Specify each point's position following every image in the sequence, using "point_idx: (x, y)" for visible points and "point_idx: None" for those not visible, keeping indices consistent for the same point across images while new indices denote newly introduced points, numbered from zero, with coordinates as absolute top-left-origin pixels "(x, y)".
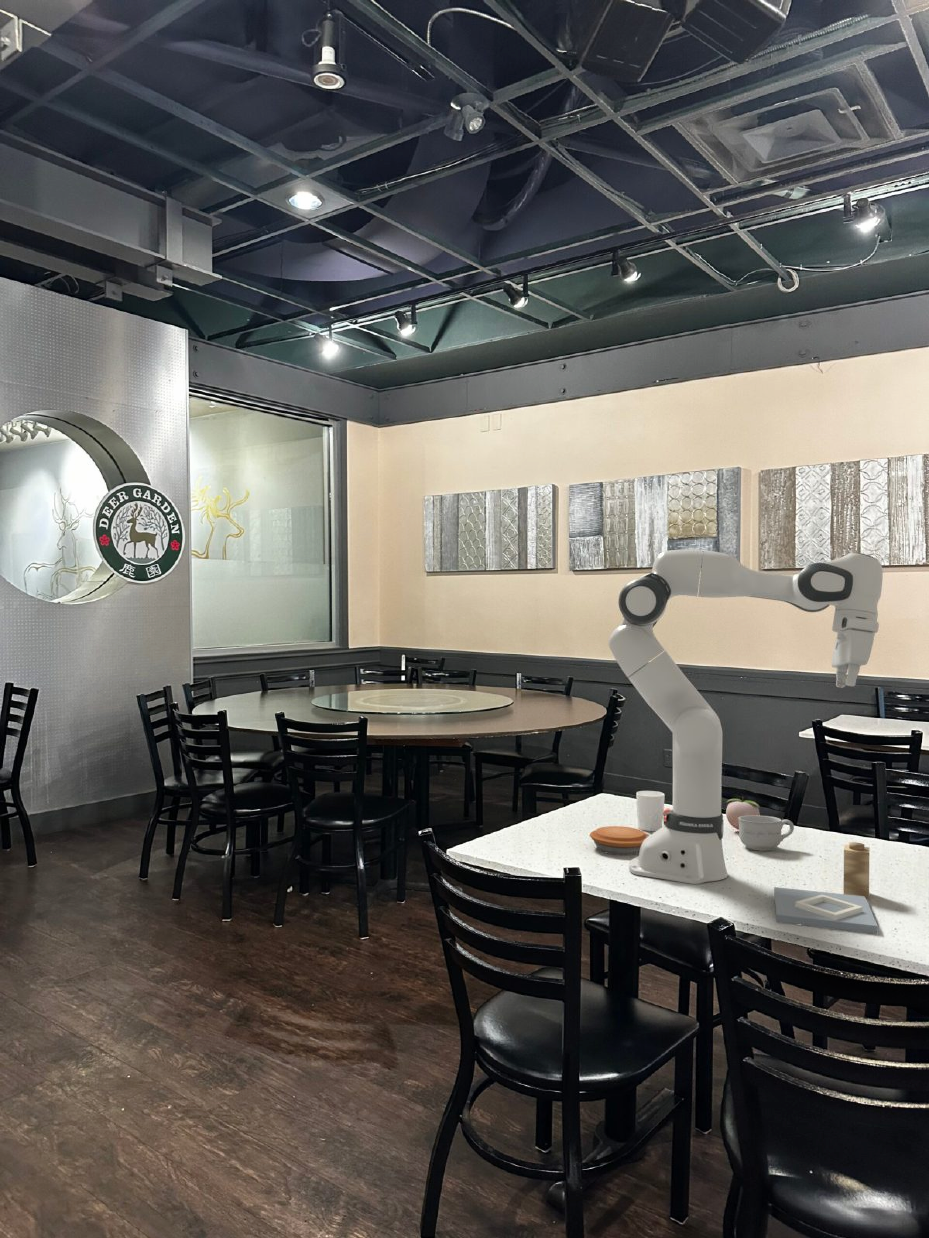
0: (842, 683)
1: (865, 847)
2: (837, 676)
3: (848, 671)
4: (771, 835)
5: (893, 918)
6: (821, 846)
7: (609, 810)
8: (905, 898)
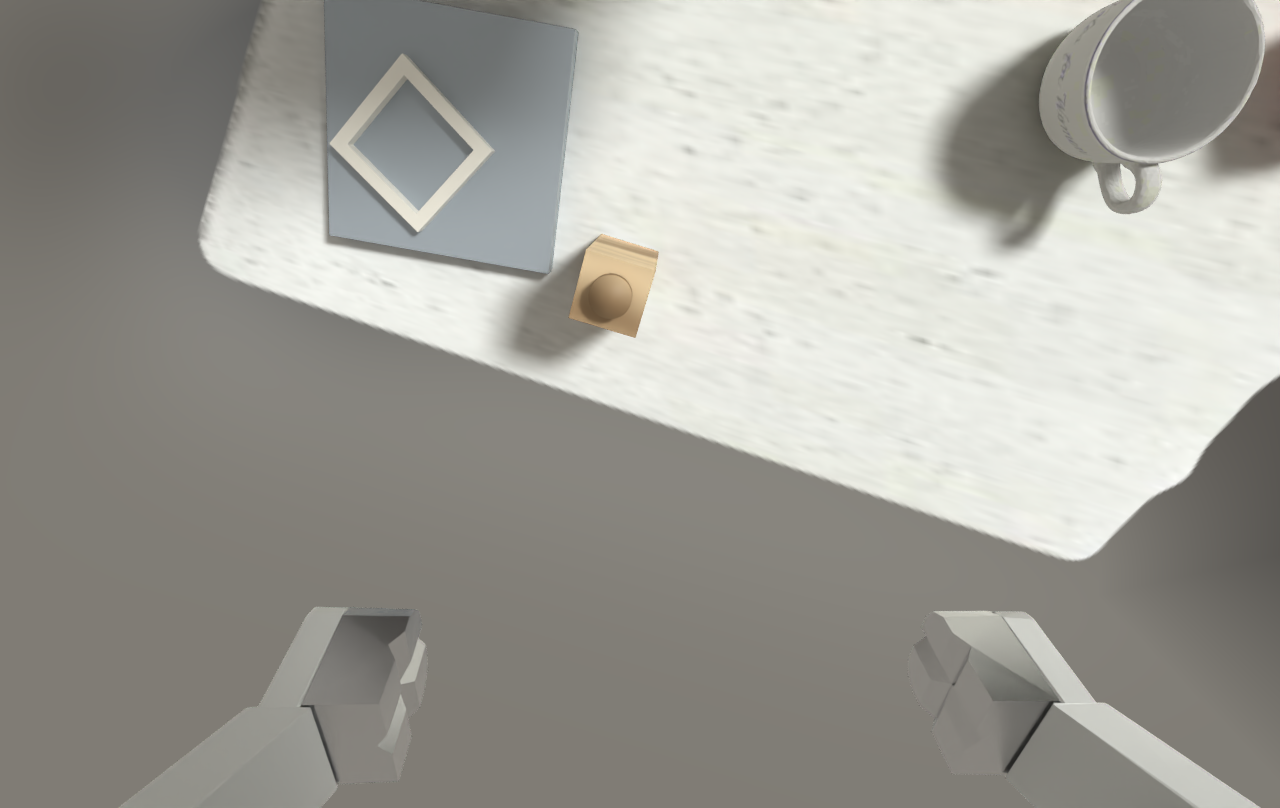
0: (947, 691)
1: (632, 325)
2: (1103, 743)
3: (139, 802)
4: (1056, 111)
5: (458, 303)
6: (1103, 307)
7: None
8: (614, 378)
